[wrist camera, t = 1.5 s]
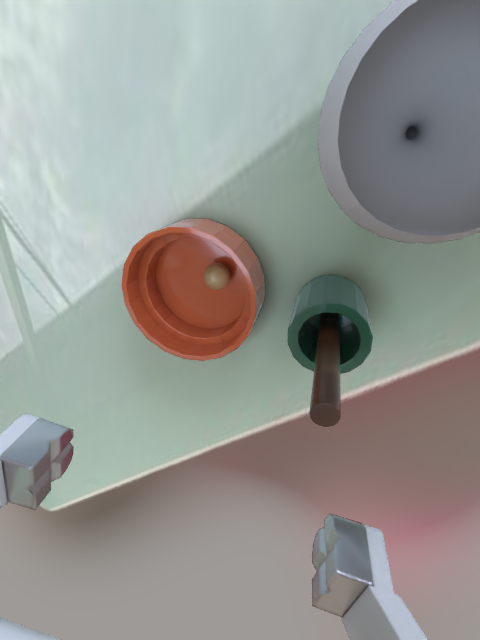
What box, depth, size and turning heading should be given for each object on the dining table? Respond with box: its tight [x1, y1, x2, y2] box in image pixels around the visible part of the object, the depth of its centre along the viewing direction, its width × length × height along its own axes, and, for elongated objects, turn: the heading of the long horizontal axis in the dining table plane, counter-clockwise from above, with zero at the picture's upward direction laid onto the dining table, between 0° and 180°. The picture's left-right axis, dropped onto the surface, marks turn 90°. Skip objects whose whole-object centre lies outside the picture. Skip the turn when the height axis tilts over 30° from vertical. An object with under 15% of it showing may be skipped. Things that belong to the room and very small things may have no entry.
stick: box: [310, 312, 340, 427], centre depth 31 cm, size 2×2×18 cm
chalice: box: [318, 0, 480, 244], centre depth 24 cm, size 14×14×15 cm
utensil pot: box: [288, 275, 373, 374], centre depth 36 cm, size 8×8×8 cm
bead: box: [203, 263, 230, 290], centre depth 39 cm, size 3×3×3 cm
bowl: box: [122, 219, 265, 361], centre depth 39 cm, size 15×15×6 cm
